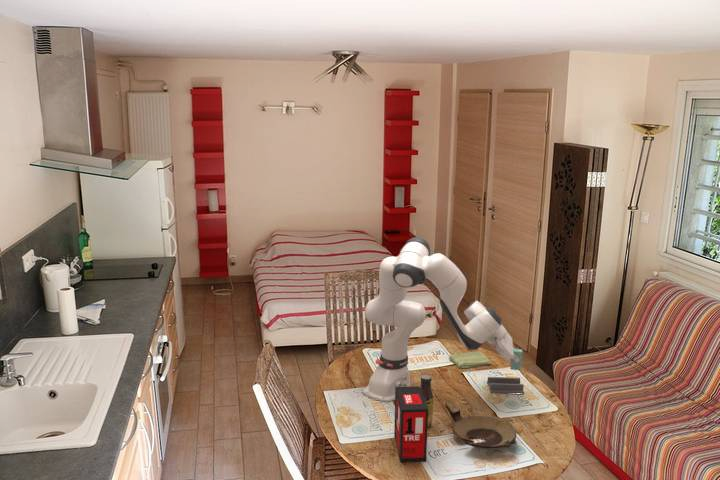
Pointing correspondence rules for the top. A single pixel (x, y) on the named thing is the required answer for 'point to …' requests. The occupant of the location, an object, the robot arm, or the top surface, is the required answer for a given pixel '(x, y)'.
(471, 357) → the washcloth
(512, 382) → the slotted rack
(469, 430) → the frying pan
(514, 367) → the teal ridged block
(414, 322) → the robot arm
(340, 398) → the top surface
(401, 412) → the cleaning product box
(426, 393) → the sauce bottle
